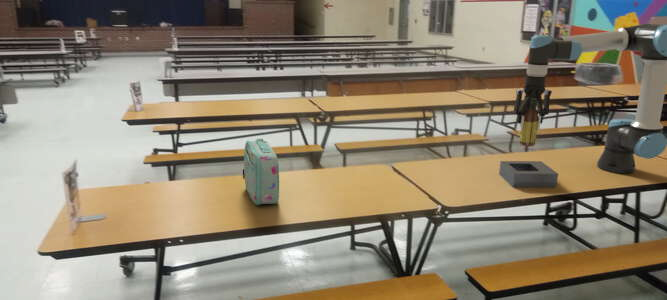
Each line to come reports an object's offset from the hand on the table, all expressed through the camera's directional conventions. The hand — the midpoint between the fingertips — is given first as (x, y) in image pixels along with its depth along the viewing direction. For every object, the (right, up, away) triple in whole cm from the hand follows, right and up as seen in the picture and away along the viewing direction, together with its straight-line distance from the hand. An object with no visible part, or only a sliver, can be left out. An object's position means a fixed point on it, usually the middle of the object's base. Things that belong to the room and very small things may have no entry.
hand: (528, 130), depth 194 cm
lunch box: (-109, -26, -12) cm, 112 cm away
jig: (+2, -21, +7) cm, 22 cm away
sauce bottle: (0, -6, +2) cm, 6 cm away
